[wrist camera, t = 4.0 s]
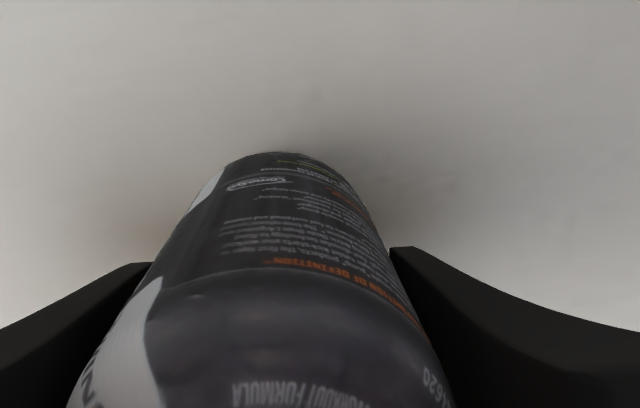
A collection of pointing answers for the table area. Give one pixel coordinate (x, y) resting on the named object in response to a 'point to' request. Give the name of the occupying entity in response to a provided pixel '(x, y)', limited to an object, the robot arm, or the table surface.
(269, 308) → the pill bottle
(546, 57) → the table surface
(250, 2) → the table surface
